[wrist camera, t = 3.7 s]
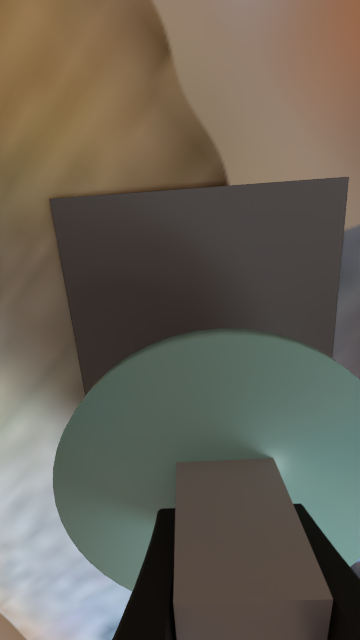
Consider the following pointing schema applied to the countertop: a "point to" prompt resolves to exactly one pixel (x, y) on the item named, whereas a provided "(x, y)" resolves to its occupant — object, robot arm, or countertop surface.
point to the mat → (200, 265)
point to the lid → (219, 477)
